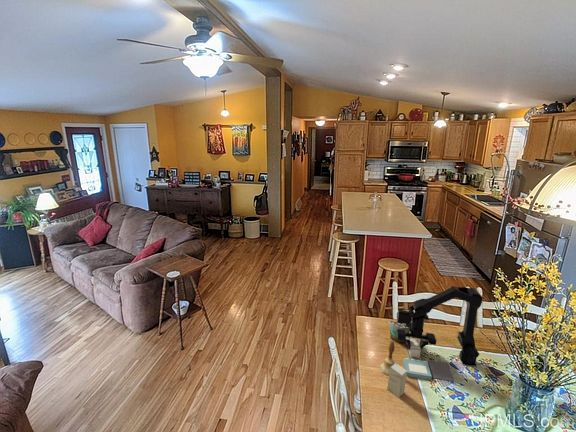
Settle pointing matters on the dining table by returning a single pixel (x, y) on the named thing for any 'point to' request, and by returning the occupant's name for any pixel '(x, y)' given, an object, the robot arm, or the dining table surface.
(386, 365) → the hand bell
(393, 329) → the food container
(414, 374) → the ticket book
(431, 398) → the dining table surface
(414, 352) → the stub
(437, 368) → the mat
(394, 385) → the skincare box
